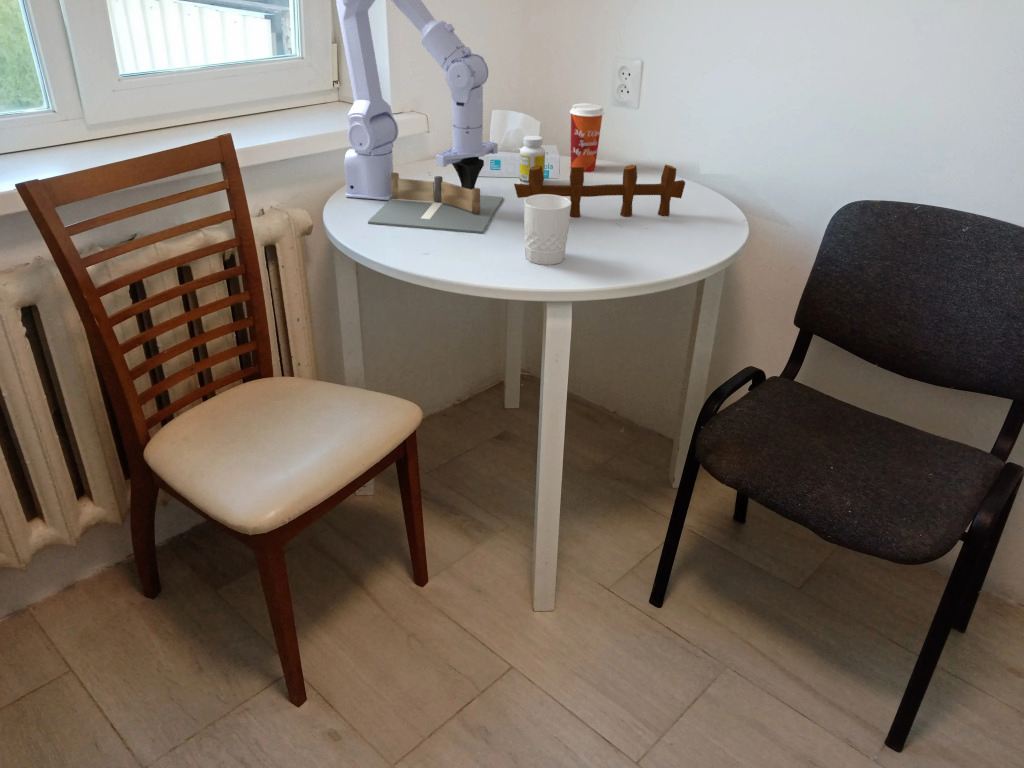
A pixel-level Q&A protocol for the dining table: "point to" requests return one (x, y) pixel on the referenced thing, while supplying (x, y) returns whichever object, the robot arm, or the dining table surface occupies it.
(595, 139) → the paper cup
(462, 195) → the fence gate
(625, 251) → the dining table surface
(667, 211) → the fence
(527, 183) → the supplement bottle
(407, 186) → the fence base
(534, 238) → the white cup
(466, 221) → the board
